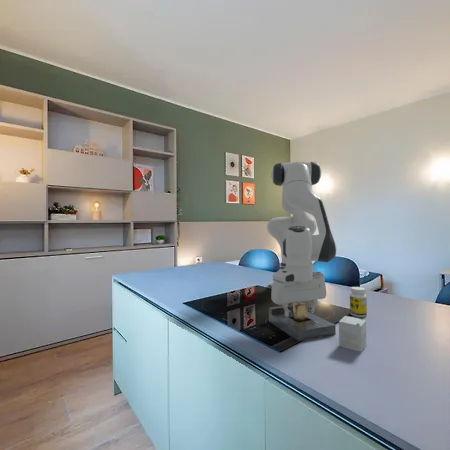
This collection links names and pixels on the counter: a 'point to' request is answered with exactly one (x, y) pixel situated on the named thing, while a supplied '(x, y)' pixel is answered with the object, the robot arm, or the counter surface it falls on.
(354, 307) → the supplement bottle
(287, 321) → the jig
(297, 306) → the bushing
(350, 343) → the skincare box
